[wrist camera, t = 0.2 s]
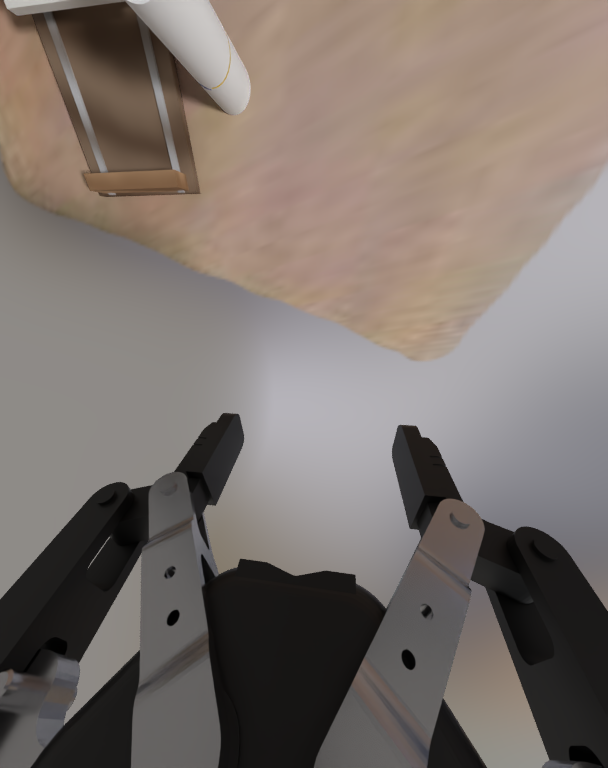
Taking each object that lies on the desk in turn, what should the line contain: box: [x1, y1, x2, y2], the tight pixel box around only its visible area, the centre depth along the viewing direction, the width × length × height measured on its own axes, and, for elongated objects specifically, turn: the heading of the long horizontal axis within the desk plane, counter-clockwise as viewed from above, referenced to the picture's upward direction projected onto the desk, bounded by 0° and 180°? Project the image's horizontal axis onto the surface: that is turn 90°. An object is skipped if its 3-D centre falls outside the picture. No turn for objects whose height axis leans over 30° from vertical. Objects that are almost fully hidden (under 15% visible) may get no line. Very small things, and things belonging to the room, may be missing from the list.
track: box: [32, 1, 200, 197], centre depth 23 cm, size 26×14×3 cm, turn 1°
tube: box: [125, 0, 250, 115], centre depth 19 cm, size 4×4×15 cm
